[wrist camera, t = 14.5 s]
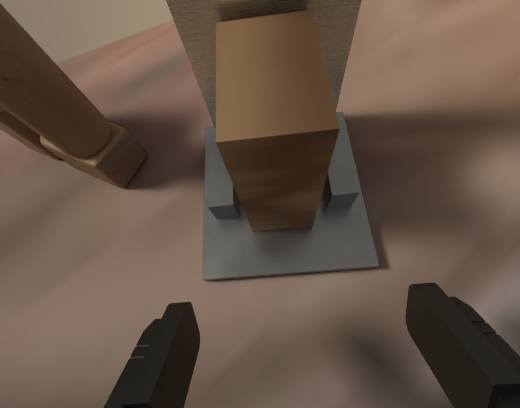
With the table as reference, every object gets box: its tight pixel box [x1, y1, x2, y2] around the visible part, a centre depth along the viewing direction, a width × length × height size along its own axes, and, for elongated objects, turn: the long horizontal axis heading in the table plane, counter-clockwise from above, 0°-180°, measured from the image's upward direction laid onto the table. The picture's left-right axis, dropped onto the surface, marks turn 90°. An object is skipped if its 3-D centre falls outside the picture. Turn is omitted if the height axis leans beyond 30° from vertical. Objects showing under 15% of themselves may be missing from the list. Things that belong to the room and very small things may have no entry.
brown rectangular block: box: [216, 9, 340, 232], centre depth 14 cm, size 4×6×10 cm, turn 4°
